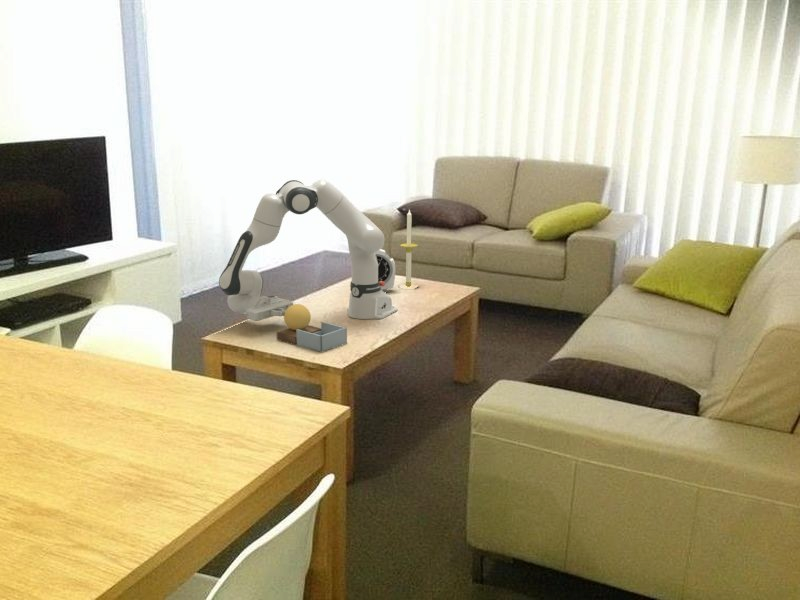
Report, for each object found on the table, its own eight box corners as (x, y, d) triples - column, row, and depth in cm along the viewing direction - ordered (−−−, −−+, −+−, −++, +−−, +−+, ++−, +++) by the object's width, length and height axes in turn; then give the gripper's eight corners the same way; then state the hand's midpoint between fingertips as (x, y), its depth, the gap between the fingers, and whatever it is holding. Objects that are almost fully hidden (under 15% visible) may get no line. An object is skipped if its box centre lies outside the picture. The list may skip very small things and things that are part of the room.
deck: (303, 331, 314) (303, 323, 313) (322, 336, 308) (321, 328, 307) (276, 339, 304) (276, 332, 303) (295, 345, 298) (295, 337, 297)
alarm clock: (356, 293, 371) (355, 250, 366) (356, 289, 380) (356, 246, 374) (395, 293, 371) (395, 250, 366) (395, 289, 380) (395, 247, 374)
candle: (421, 288, 381) (422, 210, 372) (401, 289, 379) (402, 210, 369) (415, 283, 391) (416, 206, 381) (395, 284, 388) (396, 207, 378)
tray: (322, 336, 308) (322, 321, 306) (346, 343, 300) (346, 327, 299) (296, 345, 298) (296, 329, 296) (321, 352, 290) (321, 336, 288)
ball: (297, 324, 312) (297, 299, 310) (316, 329, 306) (315, 304, 304) (278, 330, 305) (278, 304, 302) (297, 335, 299) (296, 309, 296)
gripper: (238, 305, 309) (263, 311, 300) (278, 294, 324) (302, 300, 316) (239, 321, 310) (263, 327, 302) (278, 309, 326) (303, 316, 317)
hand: (284, 313), depth 309 cm, fingers closed
